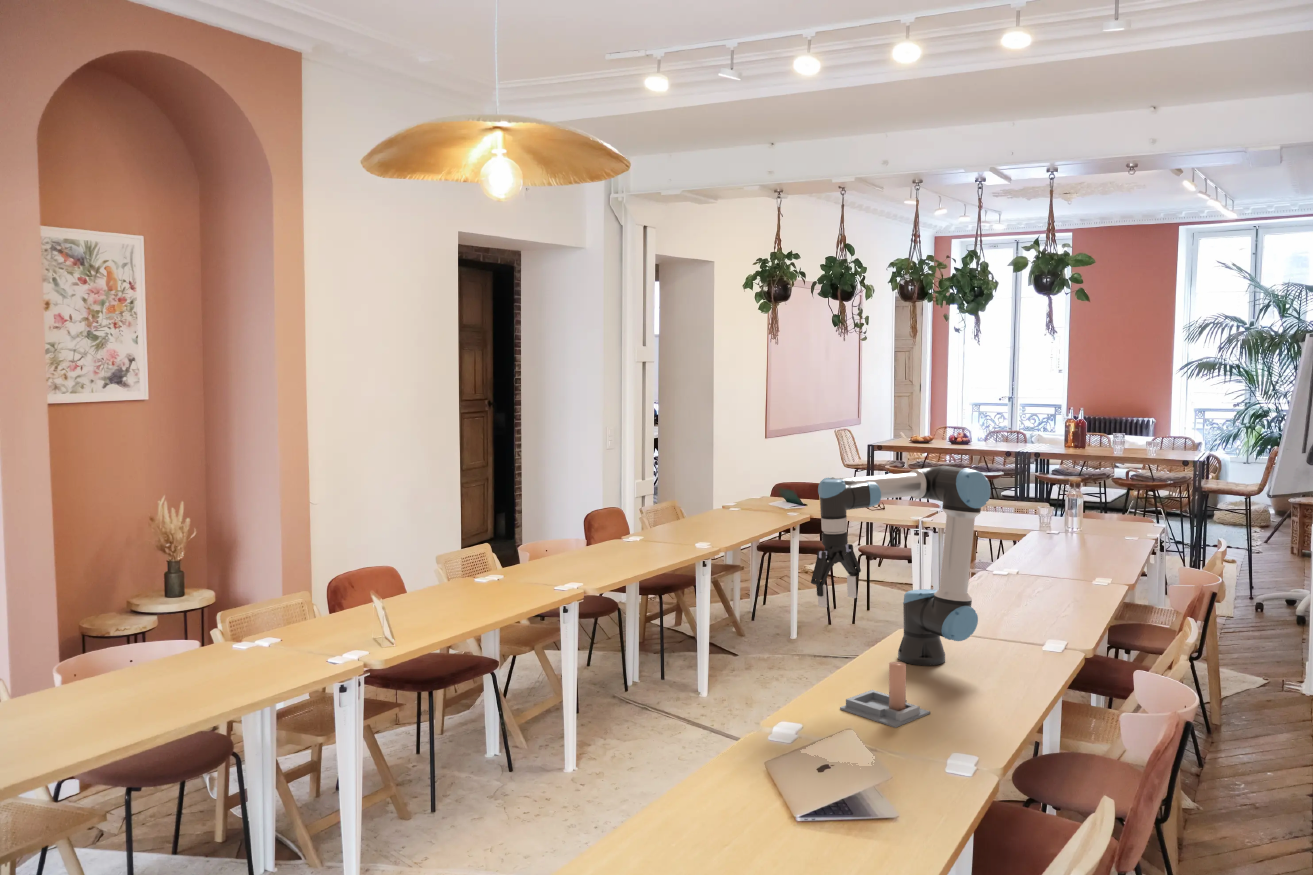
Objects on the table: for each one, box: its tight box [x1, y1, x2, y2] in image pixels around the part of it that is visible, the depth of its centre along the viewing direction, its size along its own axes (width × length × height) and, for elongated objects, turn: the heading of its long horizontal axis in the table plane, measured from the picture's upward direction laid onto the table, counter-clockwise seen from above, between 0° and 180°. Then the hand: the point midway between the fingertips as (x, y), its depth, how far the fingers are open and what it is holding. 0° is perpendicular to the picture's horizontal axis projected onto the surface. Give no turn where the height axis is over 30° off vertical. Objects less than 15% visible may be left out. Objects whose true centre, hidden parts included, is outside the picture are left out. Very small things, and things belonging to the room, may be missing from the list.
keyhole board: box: [839, 689, 931, 728], centre depth 276 cm, size 16×19×3 cm
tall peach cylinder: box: [888, 661, 907, 711], centre depth 272 cm, size 4×4×14 cm
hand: (837, 601), depth 292 cm, fingers open, 13 cm apart
